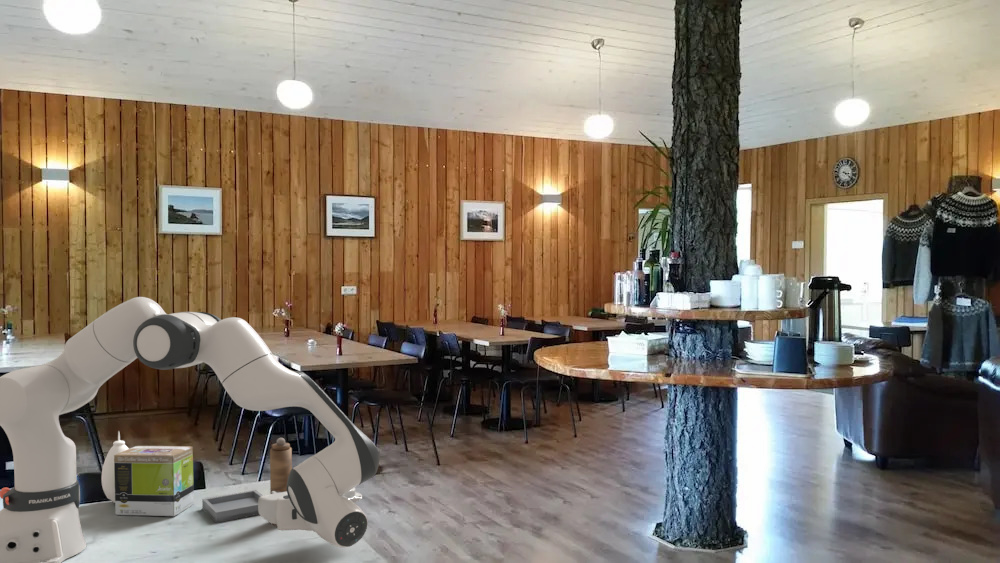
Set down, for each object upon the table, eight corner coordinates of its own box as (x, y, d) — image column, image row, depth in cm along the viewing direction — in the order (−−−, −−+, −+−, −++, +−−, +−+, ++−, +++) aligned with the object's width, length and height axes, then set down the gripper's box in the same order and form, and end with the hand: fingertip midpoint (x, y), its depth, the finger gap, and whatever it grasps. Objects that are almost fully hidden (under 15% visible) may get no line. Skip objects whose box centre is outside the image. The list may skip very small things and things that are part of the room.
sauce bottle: (124, 495, 197) (123, 426, 197) (144, 500, 193) (143, 429, 193) (95, 504, 190) (94, 432, 190) (115, 509, 186) (113, 435, 186)
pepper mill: (274, 526, 175) (274, 441, 174) (267, 521, 178) (267, 437, 178) (295, 522, 177) (294, 438, 177) (287, 516, 181) (287, 434, 181)
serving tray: (216, 522, 177) (216, 512, 177) (202, 508, 187) (202, 499, 187) (271, 512, 185) (271, 502, 185) (255, 499, 194) (255, 489, 194)
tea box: (195, 504, 191) (194, 445, 190) (174, 518, 181) (173, 455, 180) (137, 502, 192) (136, 443, 192) (113, 516, 182) (112, 454, 182)
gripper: (366, 483, 164) (339, 469, 175) (271, 500, 152) (249, 483, 164) (366, 513, 164) (339, 496, 176) (271, 532, 153) (249, 513, 164)
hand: (295, 490), depth 170 cm, fingers open, 8 cm apart
